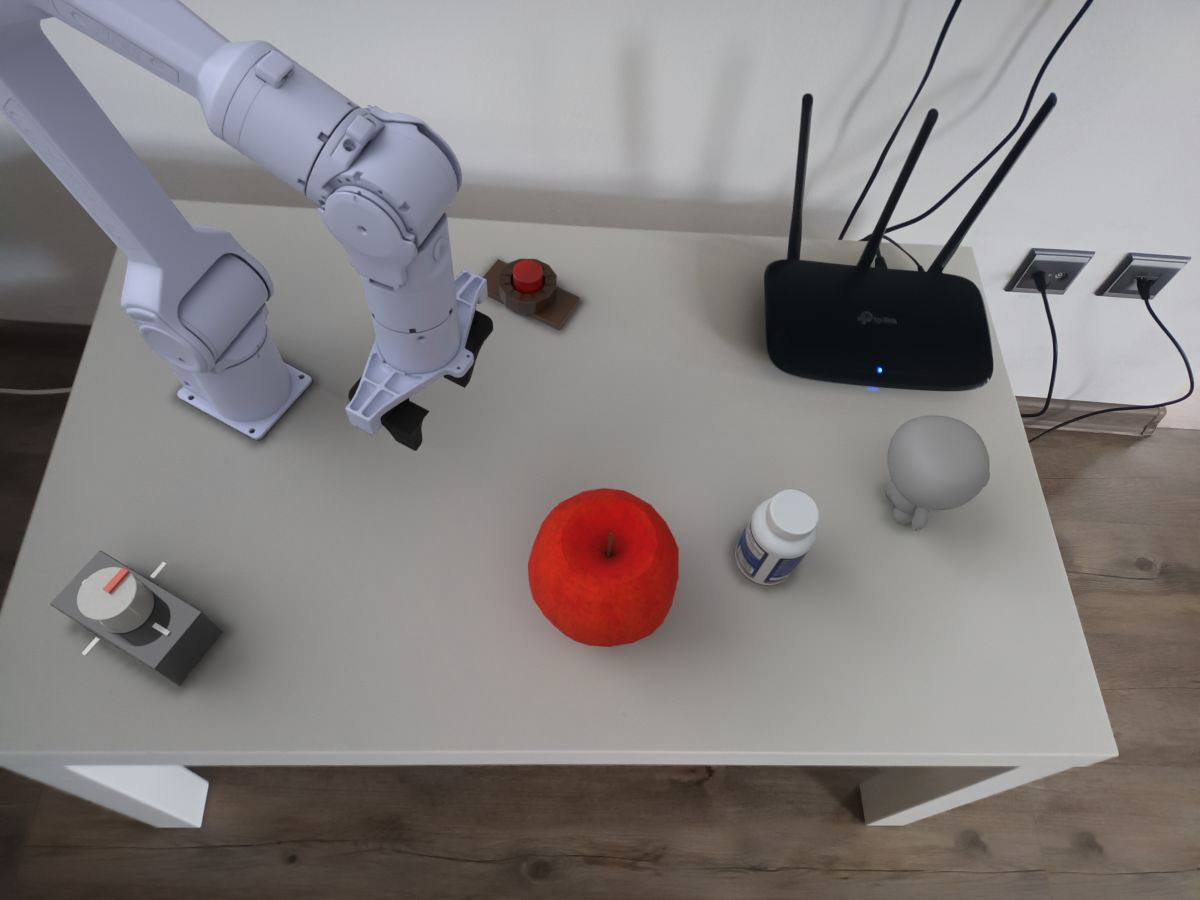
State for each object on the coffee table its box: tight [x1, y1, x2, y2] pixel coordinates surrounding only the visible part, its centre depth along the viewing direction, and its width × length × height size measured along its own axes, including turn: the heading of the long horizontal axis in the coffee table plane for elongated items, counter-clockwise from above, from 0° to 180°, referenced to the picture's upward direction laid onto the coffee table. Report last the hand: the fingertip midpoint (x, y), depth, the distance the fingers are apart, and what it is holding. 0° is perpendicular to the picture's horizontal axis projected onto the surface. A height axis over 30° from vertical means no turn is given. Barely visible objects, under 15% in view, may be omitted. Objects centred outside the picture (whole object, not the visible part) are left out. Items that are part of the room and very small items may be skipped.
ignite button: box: [513, 260, 543, 294], centre depth 83 cm, size 3×3×2 cm
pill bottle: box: [734, 488, 820, 586], centre depth 68 cm, size 5×5×10 cm
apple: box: [527, 487, 680, 648], centre depth 63 cm, size 12×12×13 cm
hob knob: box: [77, 567, 154, 633], centre depth 59 cm, size 4×4×4 cm
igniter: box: [482, 258, 581, 331], centre depth 84 cm, size 10×6×2 cm, turn 62°
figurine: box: [885, 414, 991, 531], centre depth 71 cm, size 8×8×12 cm
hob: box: [49, 550, 224, 687], centre depth 63 cm, size 10×8×5 cm
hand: (432, 410), depth 65 cm, fingers open, 6 cm apart
